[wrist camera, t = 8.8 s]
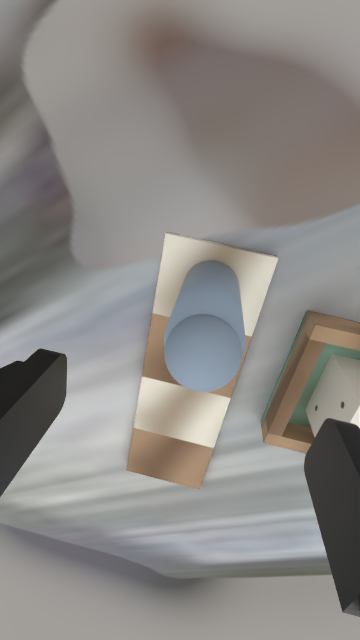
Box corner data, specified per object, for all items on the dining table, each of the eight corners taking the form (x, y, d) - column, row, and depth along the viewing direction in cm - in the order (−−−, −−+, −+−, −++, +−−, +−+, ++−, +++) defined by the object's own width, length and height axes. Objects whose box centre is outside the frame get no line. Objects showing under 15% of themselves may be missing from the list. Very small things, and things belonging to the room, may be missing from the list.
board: (277, 256, 19) (278, 258, 18) (200, 483, 28) (199, 489, 28) (167, 231, 19) (165, 233, 18) (128, 464, 29) (126, 470, 28)
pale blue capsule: (247, 269, 19) (265, 349, 10) (229, 319, 20) (230, 423, 12) (191, 253, 19) (163, 320, 10) (177, 304, 20) (143, 397, 12)
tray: (460, 345, 19) (487, 364, 17) (385, 452, 24) (399, 477, 22) (306, 310, 20) (315, 324, 18) (260, 421, 24) (263, 442, 22)
